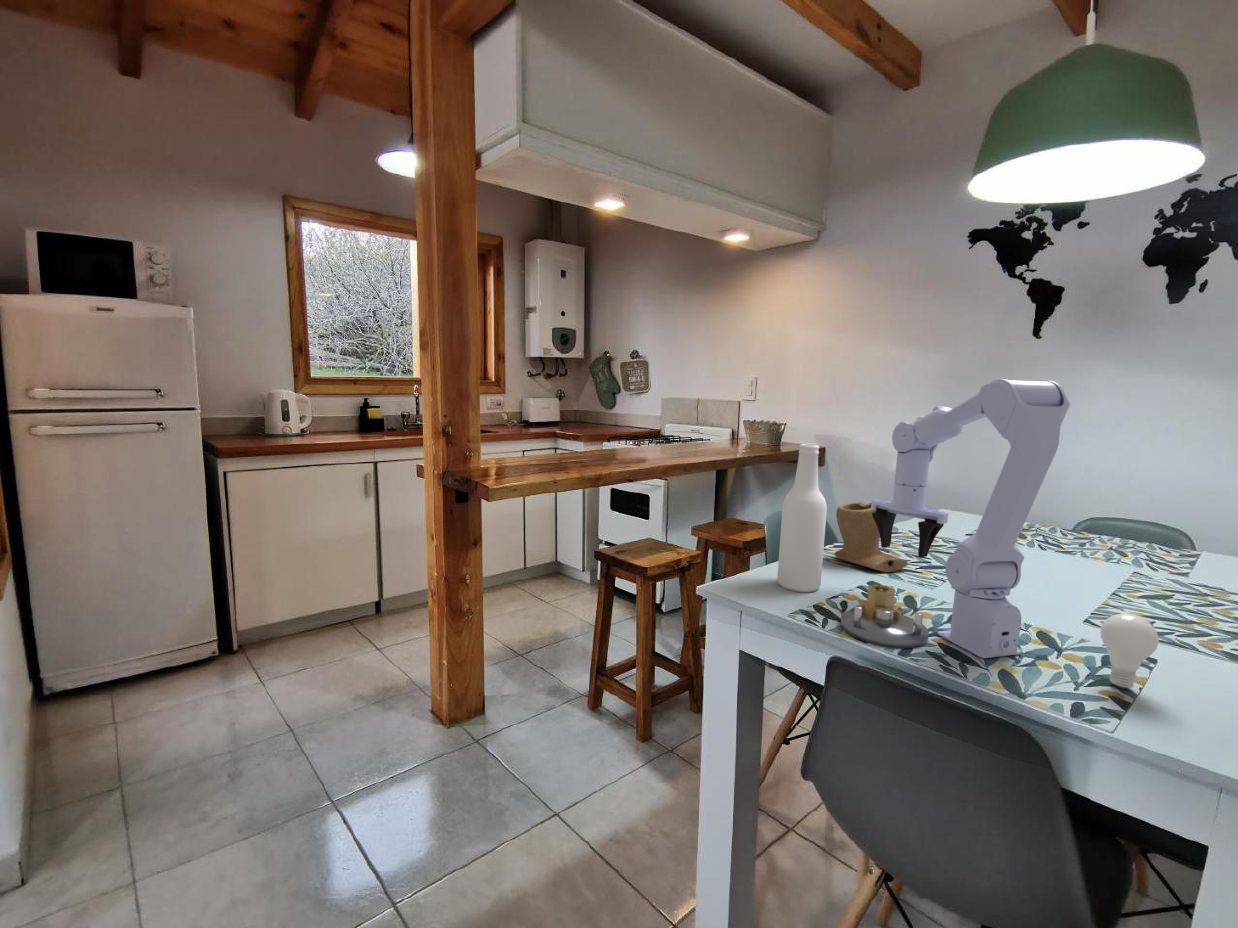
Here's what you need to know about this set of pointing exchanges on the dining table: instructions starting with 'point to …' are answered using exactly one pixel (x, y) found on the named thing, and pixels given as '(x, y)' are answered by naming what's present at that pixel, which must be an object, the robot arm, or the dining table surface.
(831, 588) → the dining table surface
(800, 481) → the alcohol
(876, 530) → the stone cup
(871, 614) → the planet gear
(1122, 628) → the lightbulb
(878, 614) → the carrier
